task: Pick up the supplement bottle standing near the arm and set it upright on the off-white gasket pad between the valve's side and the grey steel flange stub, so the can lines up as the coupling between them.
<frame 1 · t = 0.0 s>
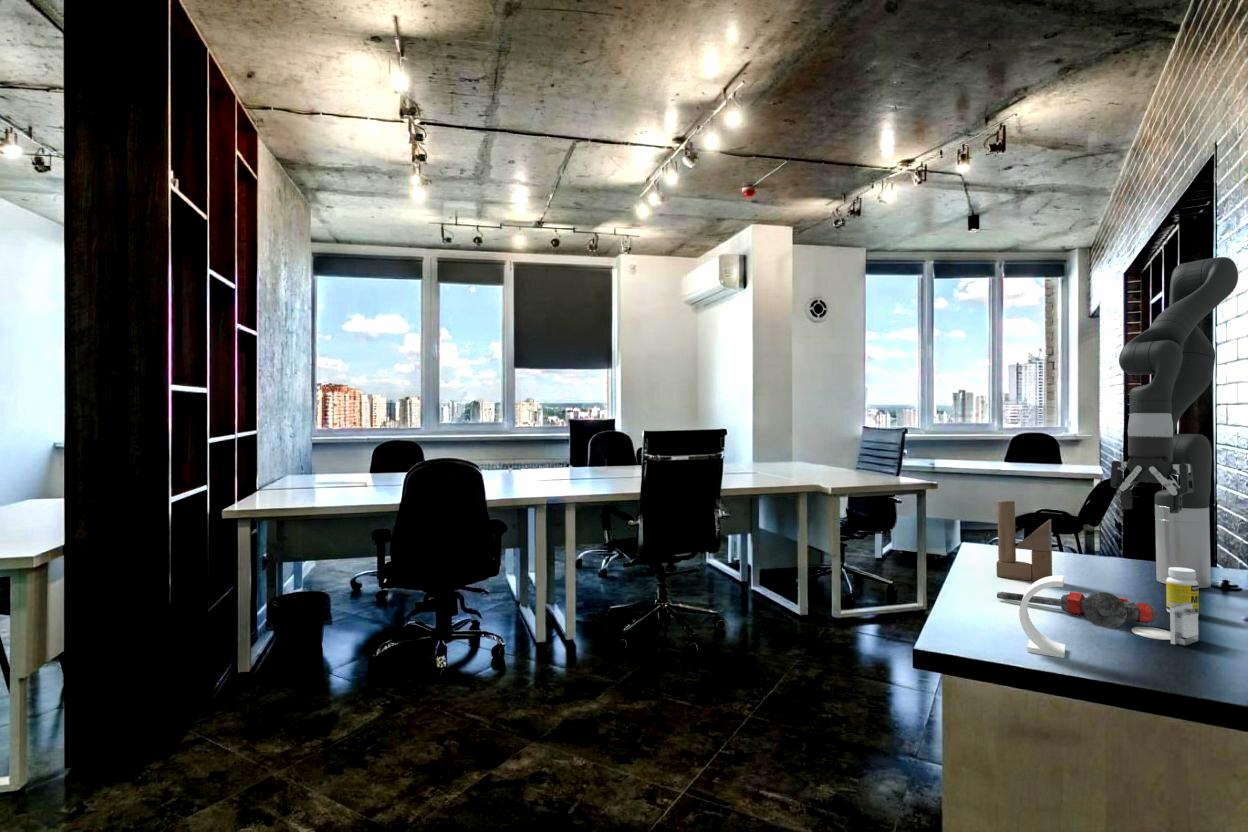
hand: (1150, 510, 141), 17 cm above the table, tool pointing down, fingers open, 8 cm apart
wooden block: (1024, 579, 154), on the table
flange stub: (1179, 640, 111), on the table
valve: (1076, 613, 128), on the table
gasket pad: (1153, 633, 114), on the table
headphone stand: (1042, 651, 108), on the table
supplement bottle: (1182, 614, 126), on the table
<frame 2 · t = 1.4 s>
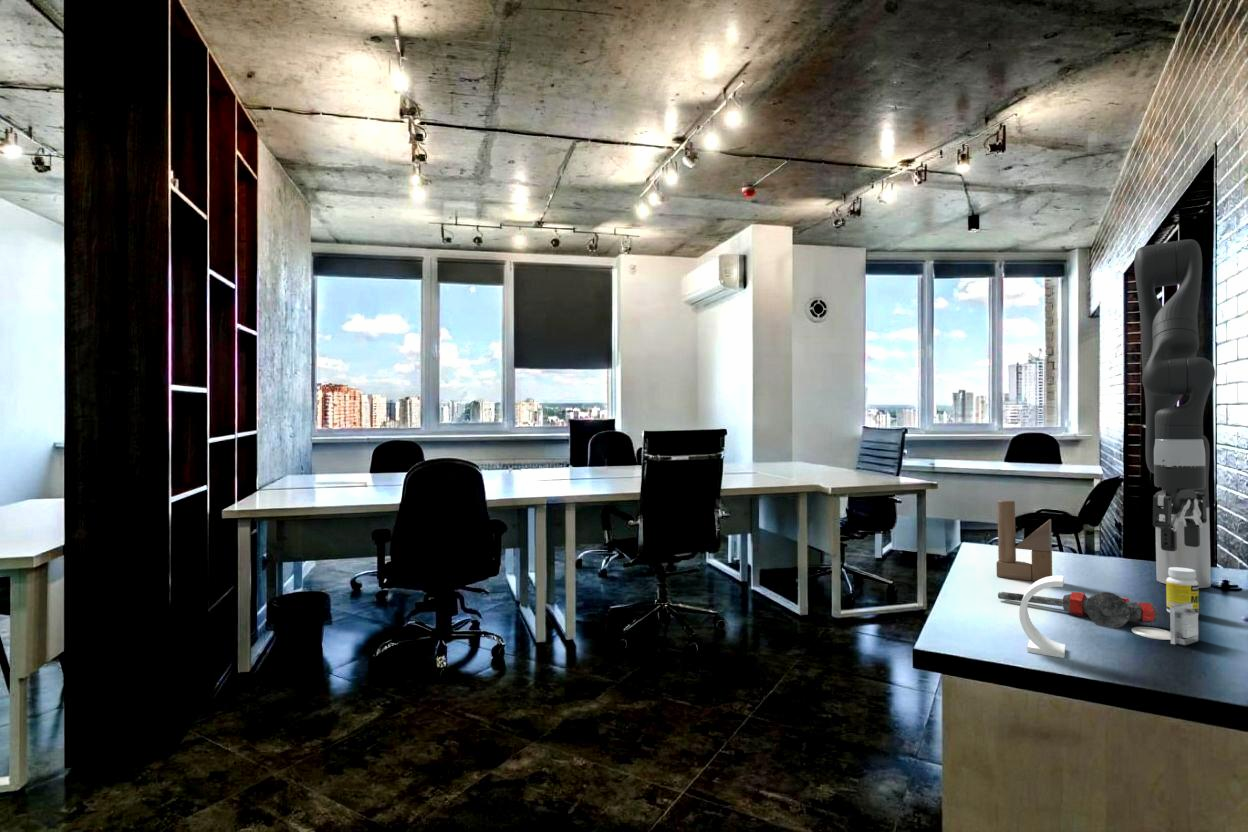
hand: (1180, 548, 125), 12 cm above the table, tool pointing down, fingers open, 8 cm apart
nothing on the table moved.
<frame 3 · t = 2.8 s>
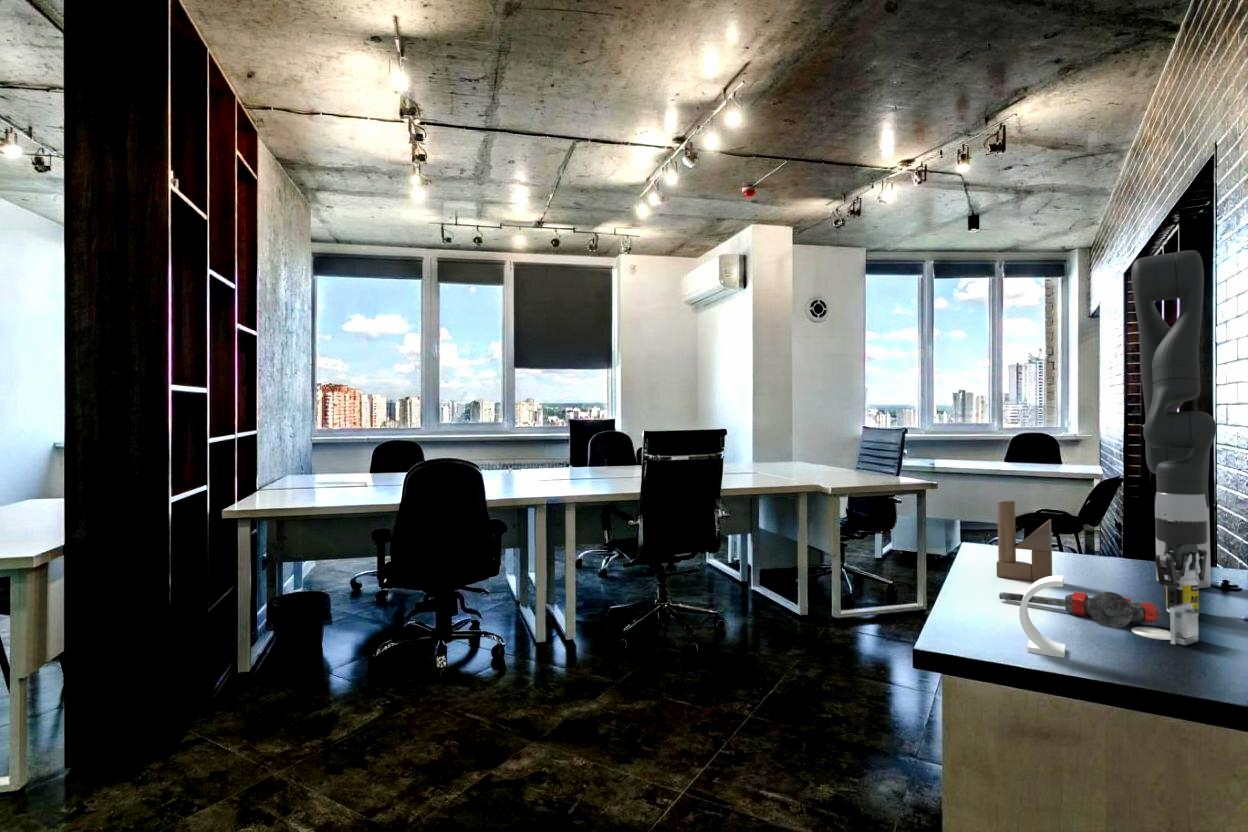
hand: (1182, 606, 126), 1 cm above the table, tool pointing down, fingers closed on supplement bottle, 4 cm apart
supplement bottle: (1182, 614, 126), on the table, touching gripper
everything else where it was.
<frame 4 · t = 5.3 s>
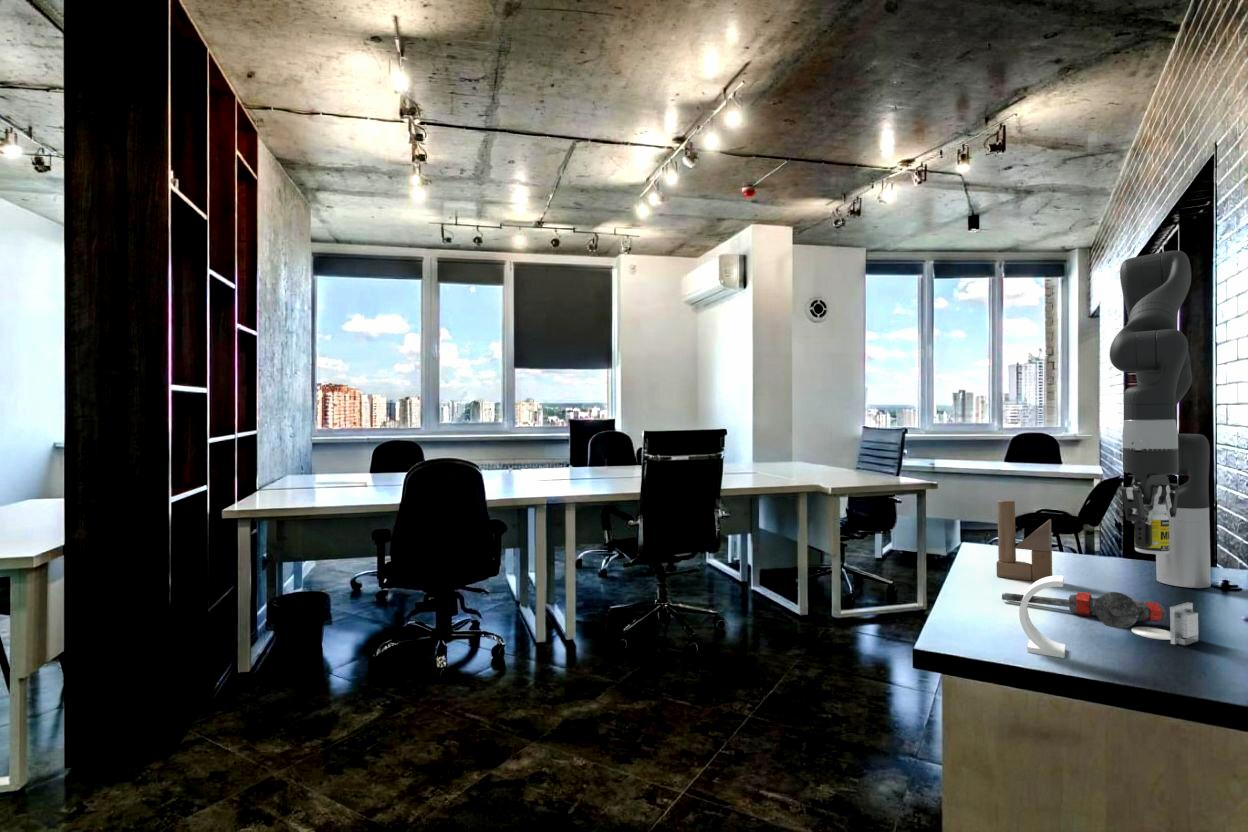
hand: (1151, 544, 114), 16 cm above the table, tool pointing down, fingers closed on supplement bottle, 4 cm apart
supplement bottle: (1152, 553, 114), point 14 cm above the table, touching gripper
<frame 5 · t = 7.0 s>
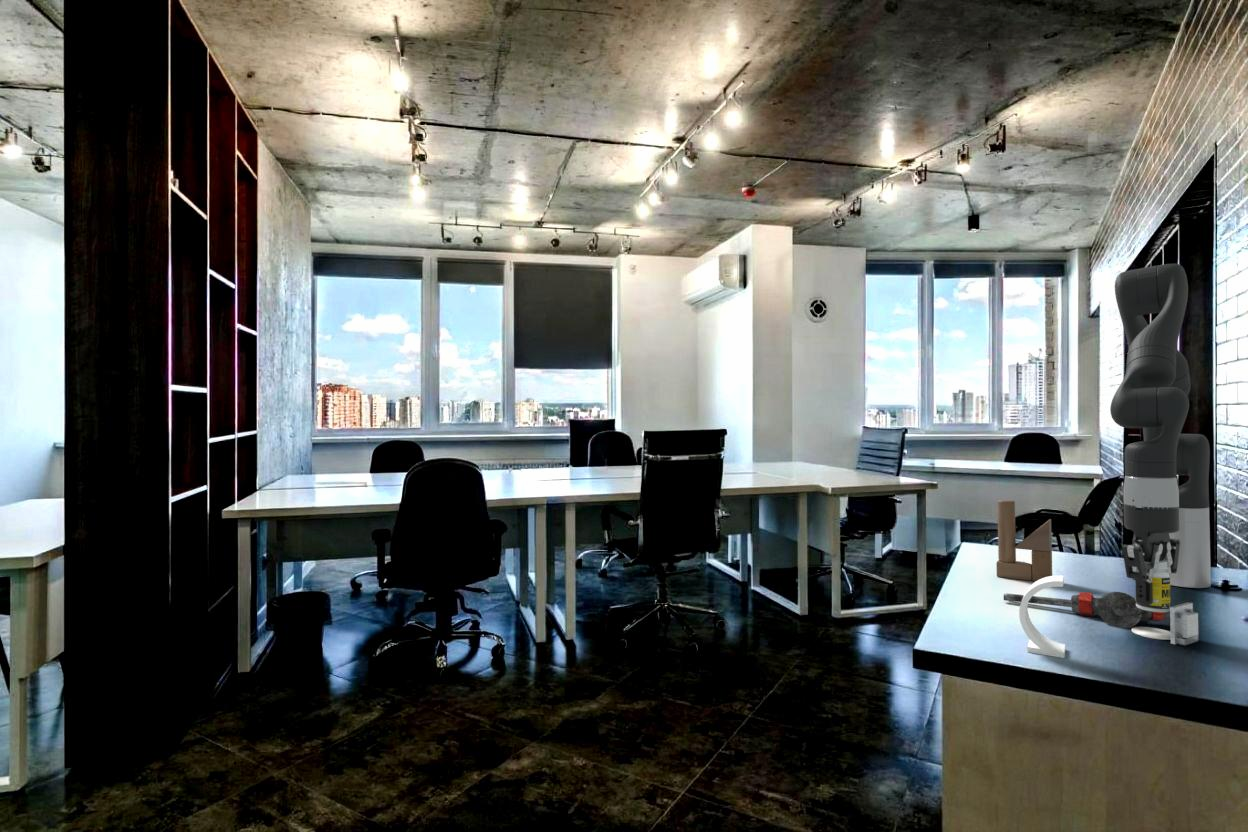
hand: (1152, 600, 114), 6 cm above the table, tool pointing down, fingers closed on supplement bottle, 4 cm apart
supplement bottle: (1153, 610, 114), point 4 cm above the table, touching gripper
when the fingers open (3 cm above the table, at t = 8.0 s): supplement bottle drops 1 cm, resting on gasket pad.
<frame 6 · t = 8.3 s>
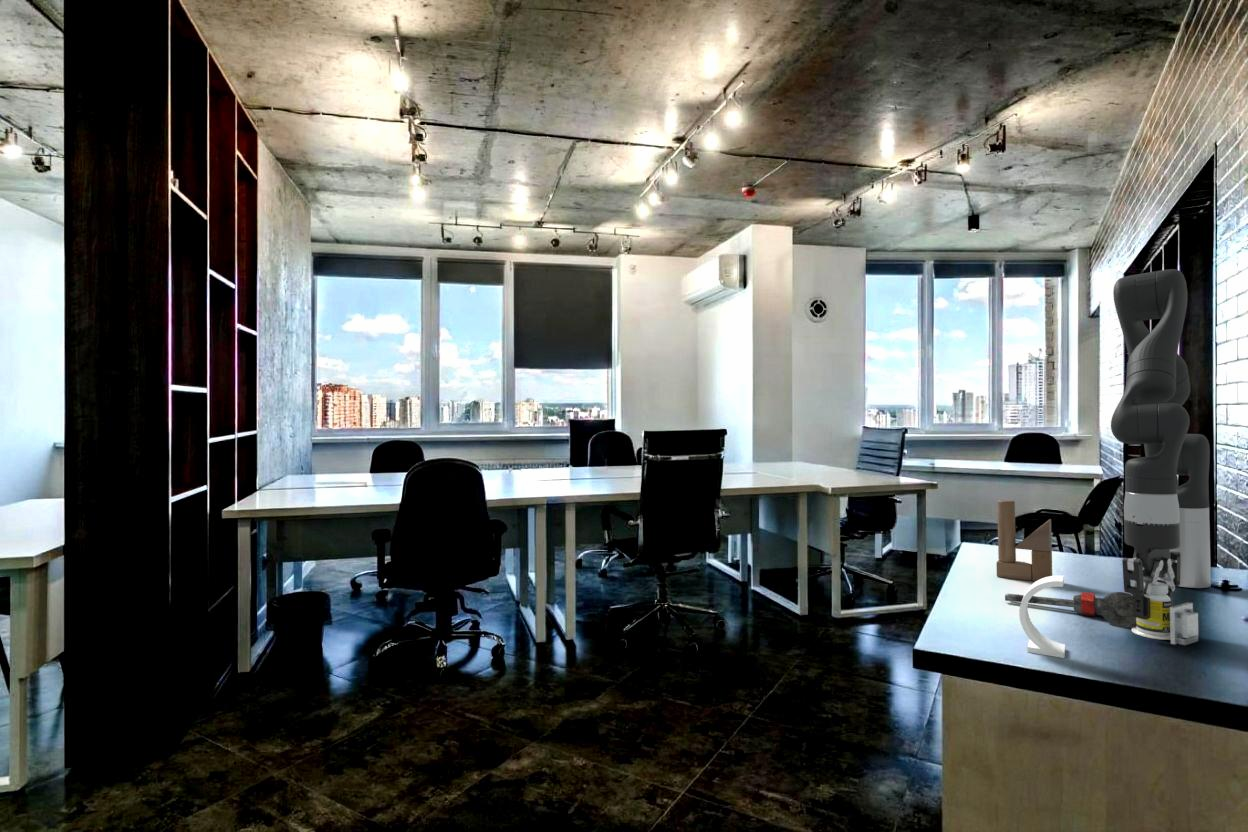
hand: (1153, 614, 114), 3 cm above the table, tool pointing down, fingers open, 6 cm apart
supplement bottle: (1153, 633, 114), resting on gasket pad
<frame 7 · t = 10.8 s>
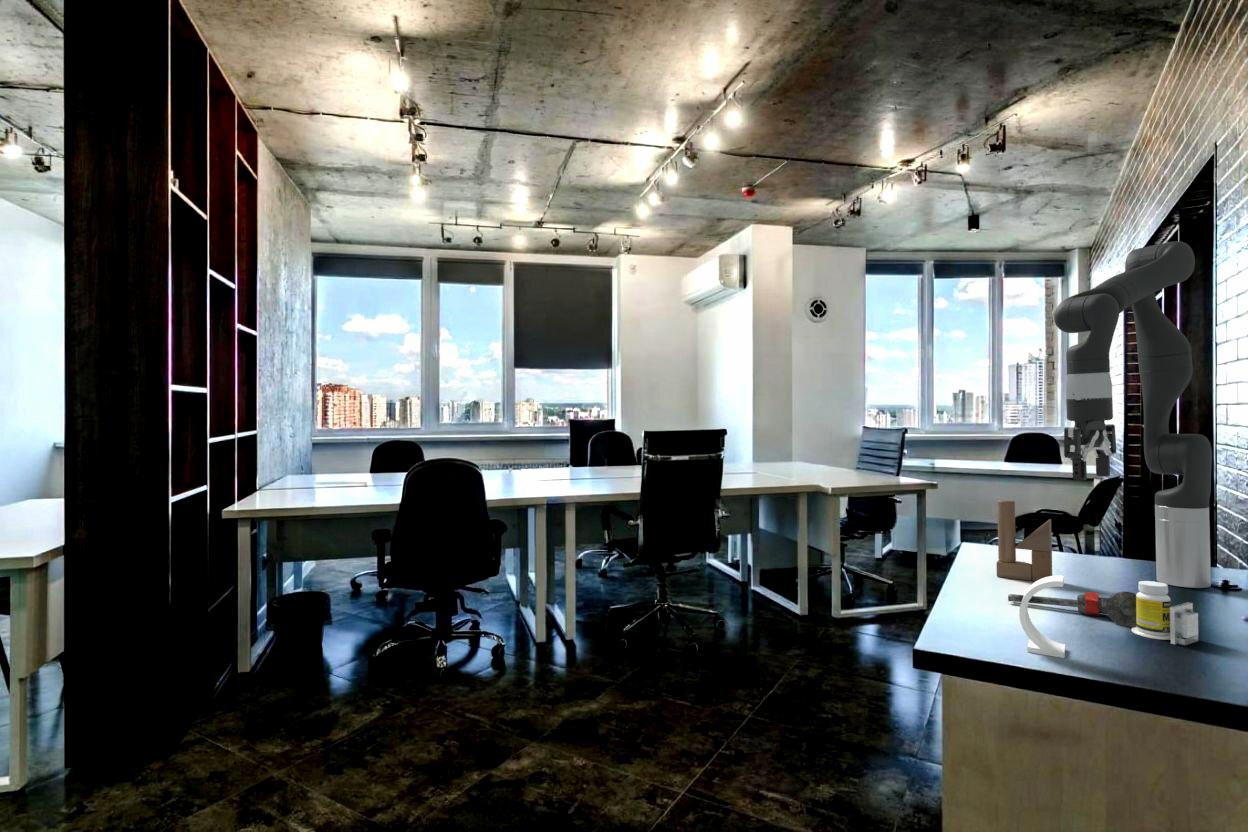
hand: (1091, 478, 132), 25 cm above the table, tool pointing down, fingers open, 8 cm apart
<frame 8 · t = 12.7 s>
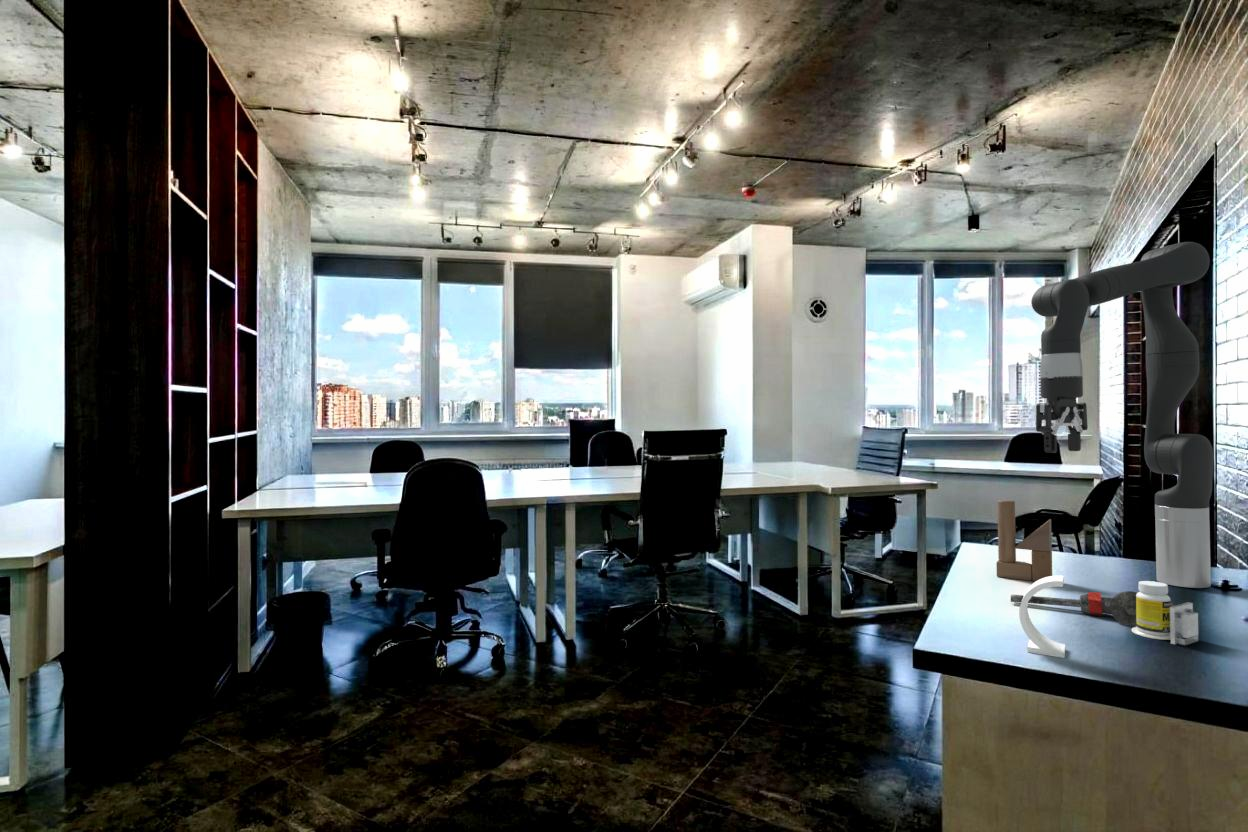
hand: (1062, 451, 141), 30 cm above the table, tool pointing down, fingers open, 8 cm apart
at the end: supplement bottle 0.1 cm from the gasket pad (horizontally); supplement bottle tilted 0°; the gripper is holding nothing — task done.
